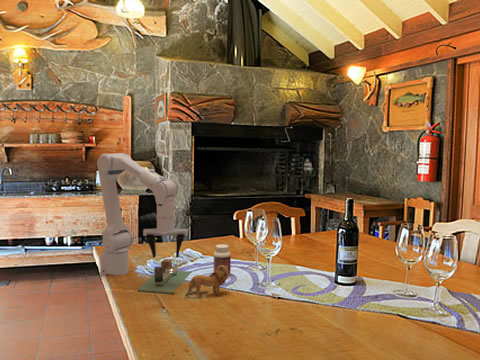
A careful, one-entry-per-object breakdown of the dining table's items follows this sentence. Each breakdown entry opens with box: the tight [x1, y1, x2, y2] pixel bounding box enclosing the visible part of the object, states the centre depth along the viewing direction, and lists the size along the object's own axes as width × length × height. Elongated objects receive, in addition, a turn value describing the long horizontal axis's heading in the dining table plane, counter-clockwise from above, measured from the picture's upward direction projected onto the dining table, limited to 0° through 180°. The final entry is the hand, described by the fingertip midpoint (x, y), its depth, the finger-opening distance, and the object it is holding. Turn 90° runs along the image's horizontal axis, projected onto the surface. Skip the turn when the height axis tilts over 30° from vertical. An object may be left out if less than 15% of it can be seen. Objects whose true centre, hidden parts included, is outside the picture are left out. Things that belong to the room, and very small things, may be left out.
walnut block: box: [160, 258, 173, 272], centre depth 161 cm, size 3×3×4 cm
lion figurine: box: [184, 265, 229, 299], centre depth 140 cm, size 15×5×9 cm, turn 116°
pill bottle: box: [213, 244, 232, 277], centre depth 159 cm, size 6×6×11 cm
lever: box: [153, 265, 179, 285], centre depth 153 cm, size 4×18×6 cm, turn 169°
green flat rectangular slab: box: [137, 270, 192, 296], centre depth 152 cm, size 12×21×1 cm, turn 169°
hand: (165, 256), depth 147 cm, fingers open, 7 cm apart
